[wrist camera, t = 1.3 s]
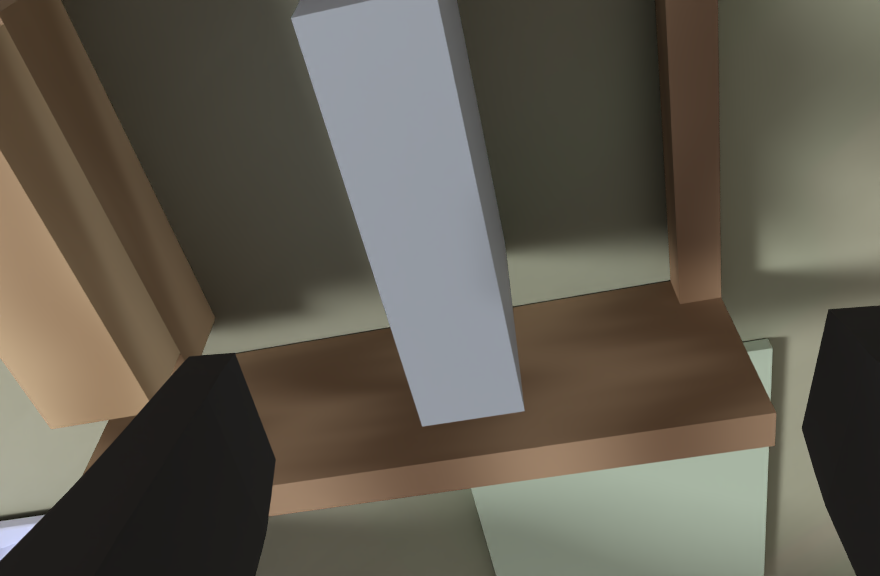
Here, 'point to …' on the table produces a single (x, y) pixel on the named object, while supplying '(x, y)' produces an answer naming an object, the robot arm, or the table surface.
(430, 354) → the grey rectangular box
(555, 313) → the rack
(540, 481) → the mat
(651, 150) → the table surface
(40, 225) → the offcut
